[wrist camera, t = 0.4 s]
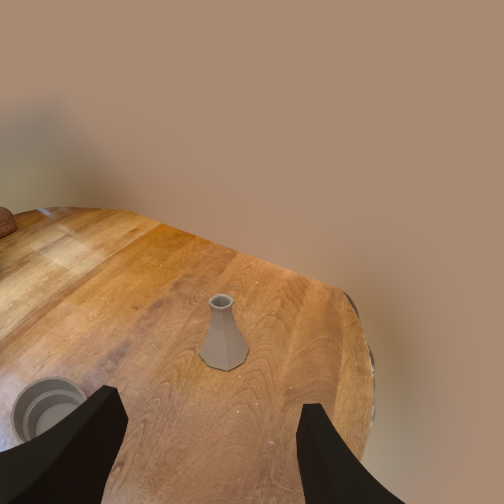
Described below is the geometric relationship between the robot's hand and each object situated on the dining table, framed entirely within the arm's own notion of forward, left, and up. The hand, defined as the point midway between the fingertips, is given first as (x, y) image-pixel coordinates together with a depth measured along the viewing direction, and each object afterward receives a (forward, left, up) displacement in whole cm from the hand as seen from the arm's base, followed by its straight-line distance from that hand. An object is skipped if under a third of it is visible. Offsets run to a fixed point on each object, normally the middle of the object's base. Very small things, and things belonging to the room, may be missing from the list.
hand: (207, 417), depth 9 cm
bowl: (+7, +22, -22) cm, 32 cm away
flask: (+24, +1, -22) cm, 33 cm away
